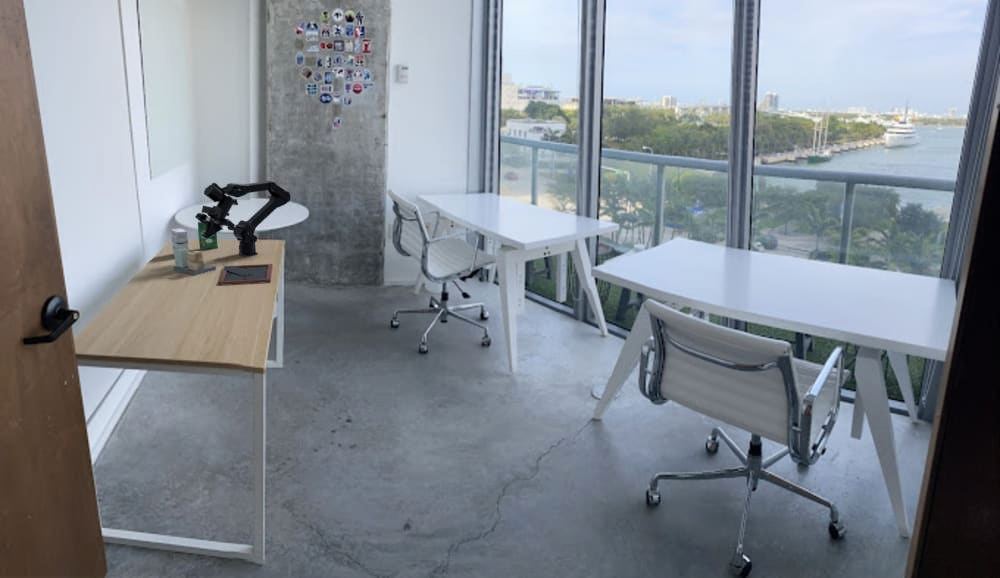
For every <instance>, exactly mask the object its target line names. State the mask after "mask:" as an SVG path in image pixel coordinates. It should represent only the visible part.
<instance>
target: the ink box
mask: <svg viewBox="0 0 1000 578" xmlns="http://www.w3.org/2000/svg"><path fill="white" fill-rule="evenodd" d="M170 232H171V233H170V234H171V244H172V251H173V255H174V250H177V249H181V248H185V249H190V248H189V239H188V238H189V237H188V236H189V235H188V231H186V230H185V229H183V228H171V229H170Z"/></svg>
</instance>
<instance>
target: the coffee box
mask: <svg viewBox="0 0 1000 578" xmlns="http://www.w3.org/2000/svg"><path fill="white" fill-rule="evenodd" d="M205 231H206V225H205V224H203V223H201V222H200V221H197V232H198V244H199V249H201V250H210V249H209V248H212V249H213V248H214V249H218V248H219V247H218V235H217V234H218V232H217V233H215V234H214V235H212V236H211V237H209V238H205Z"/></svg>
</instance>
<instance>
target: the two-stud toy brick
mask: <svg viewBox="0 0 1000 578" xmlns="http://www.w3.org/2000/svg"><path fill="white" fill-rule="evenodd" d="M187 252H191V249H190V248H189V249H185V248H181V249H177V250H174V254H173V255H174V263H175V266H178V267H182V268H183V267H187V257H186V253H187Z"/></svg>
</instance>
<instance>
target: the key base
mask: <svg viewBox="0 0 1000 578" xmlns="http://www.w3.org/2000/svg"><path fill="white" fill-rule="evenodd" d="M203 264H204V268H203V269H199V270H190V269H188V266H187V267H183V268H182V267H178V266H176V265H175V266H173V267H172V268H173V271H175V272H179V273H180V272H181V273H184V274H187V273H188V275H191V274H192V276H198V275H201V273H202V274H206V273H209V272H212V270H213V271H216V270H217V266H216V265H211V264H208V263H207V264H206V263H203ZM208 271H209V272H208ZM205 272H206V273H205ZM197 274H198V275H197Z"/></svg>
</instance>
